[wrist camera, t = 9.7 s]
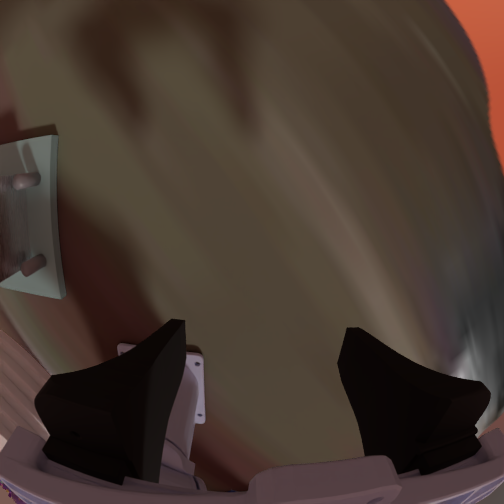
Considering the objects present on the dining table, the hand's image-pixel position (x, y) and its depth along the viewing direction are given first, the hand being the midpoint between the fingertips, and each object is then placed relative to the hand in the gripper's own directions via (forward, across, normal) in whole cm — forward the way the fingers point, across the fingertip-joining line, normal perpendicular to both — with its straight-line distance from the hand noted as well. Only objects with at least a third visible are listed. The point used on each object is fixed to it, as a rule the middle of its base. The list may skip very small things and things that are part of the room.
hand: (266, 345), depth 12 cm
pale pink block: (+9, +22, -3) cm, 24 cm away
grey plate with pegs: (+10, +22, -3) cm, 24 cm away
